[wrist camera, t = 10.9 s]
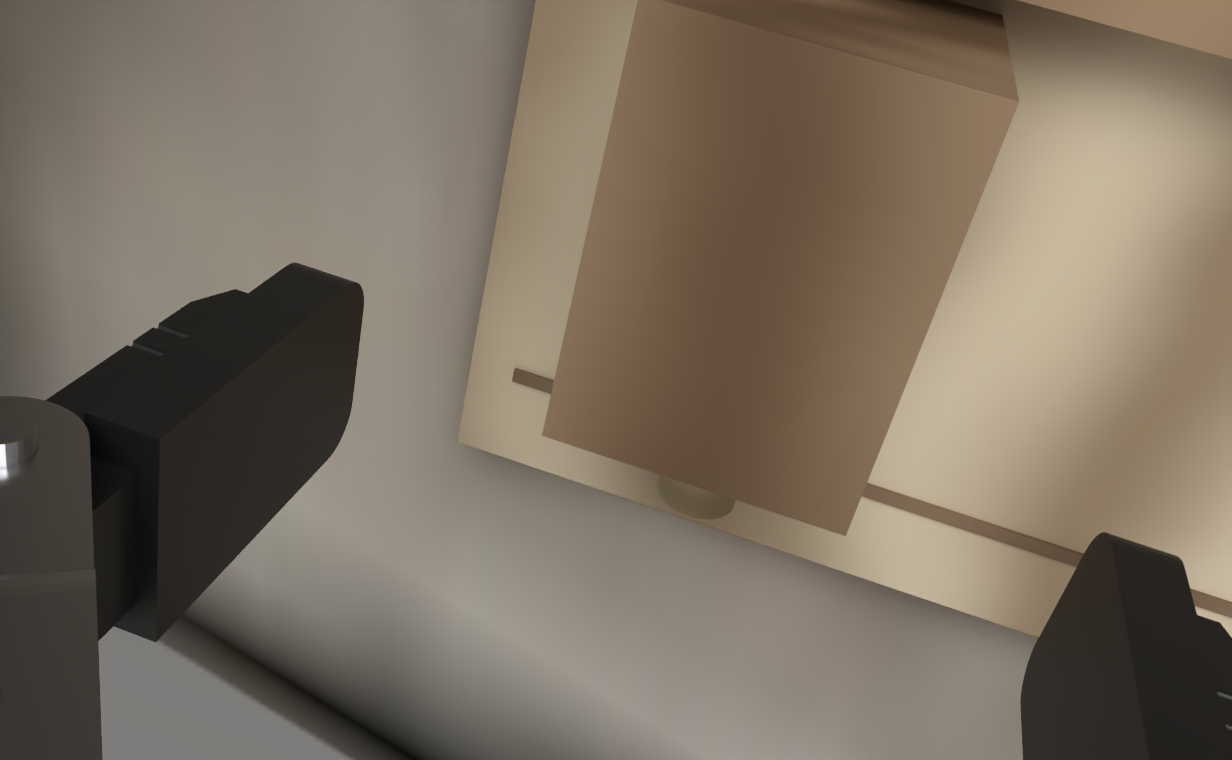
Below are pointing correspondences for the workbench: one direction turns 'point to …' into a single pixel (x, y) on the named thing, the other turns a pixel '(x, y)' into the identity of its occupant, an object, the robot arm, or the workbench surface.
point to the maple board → (961, 315)
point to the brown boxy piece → (775, 241)
